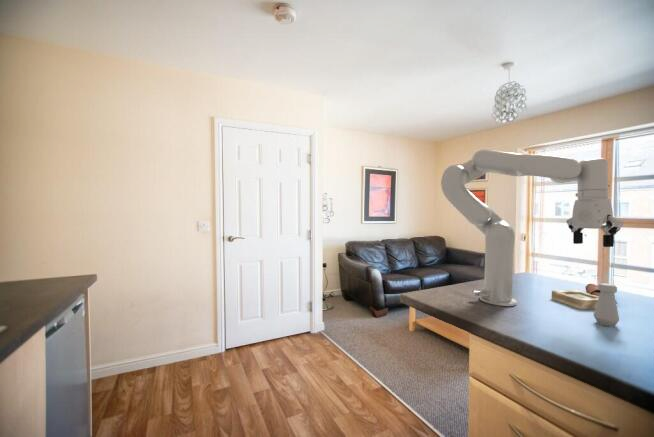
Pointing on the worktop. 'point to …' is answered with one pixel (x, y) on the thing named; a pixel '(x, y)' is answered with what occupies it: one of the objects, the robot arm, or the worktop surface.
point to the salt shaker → (606, 306)
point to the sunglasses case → (593, 290)
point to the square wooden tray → (576, 298)
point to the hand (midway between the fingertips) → (592, 245)
